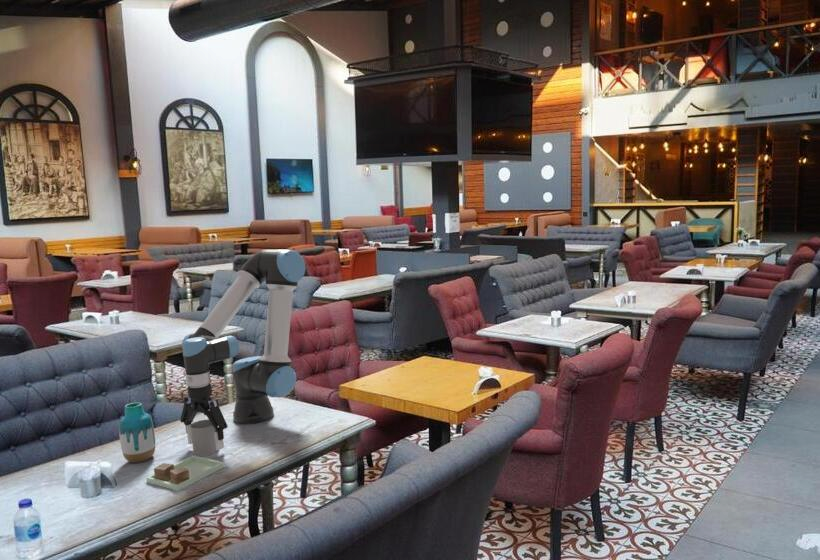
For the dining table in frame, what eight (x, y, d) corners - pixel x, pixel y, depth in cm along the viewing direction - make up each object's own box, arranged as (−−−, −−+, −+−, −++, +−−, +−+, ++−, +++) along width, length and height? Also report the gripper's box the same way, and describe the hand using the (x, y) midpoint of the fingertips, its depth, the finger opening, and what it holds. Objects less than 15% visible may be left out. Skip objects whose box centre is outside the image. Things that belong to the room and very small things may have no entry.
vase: (144, 467, 215) (137, 410, 212) (116, 466, 217) (108, 410, 214) (164, 454, 225) (157, 399, 222) (136, 453, 227) (129, 399, 225)
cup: (211, 457, 219) (208, 428, 218) (189, 457, 221) (185, 428, 220) (224, 447, 227) (220, 419, 226) (201, 447, 229) (198, 419, 228)
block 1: (164, 475, 206) (163, 463, 206) (175, 476, 205) (173, 464, 204) (155, 480, 203) (153, 468, 202) (165, 482, 201) (164, 469, 200)
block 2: (184, 478, 203) (182, 466, 202) (189, 482, 200) (188, 469, 199) (171, 483, 200) (169, 470, 199) (177, 487, 197) (175, 474, 197)
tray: (194, 461, 217) (193, 455, 217) (224, 468, 210) (223, 462, 210) (147, 484, 202) (146, 477, 202) (177, 492, 195) (177, 486, 195)
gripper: (164, 384, 224) (172, 444, 227) (216, 392, 211) (223, 455, 214) (182, 377, 231) (189, 436, 234) (234, 385, 217) (240, 447, 220)
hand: (206, 445), depth 224 cm, fingers open, 13 cm apart
